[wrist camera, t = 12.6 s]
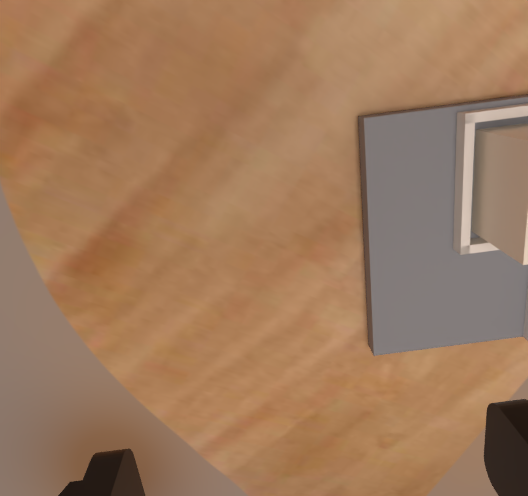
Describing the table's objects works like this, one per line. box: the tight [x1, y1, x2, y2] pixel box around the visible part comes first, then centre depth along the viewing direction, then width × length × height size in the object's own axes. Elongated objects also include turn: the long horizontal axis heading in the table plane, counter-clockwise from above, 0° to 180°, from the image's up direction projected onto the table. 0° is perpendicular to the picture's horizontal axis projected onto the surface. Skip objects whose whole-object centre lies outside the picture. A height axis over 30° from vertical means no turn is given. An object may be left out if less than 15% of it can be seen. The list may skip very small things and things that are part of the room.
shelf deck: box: [358, 94, 528, 356], centre depth 41 cm, size 23×16×4 cm
